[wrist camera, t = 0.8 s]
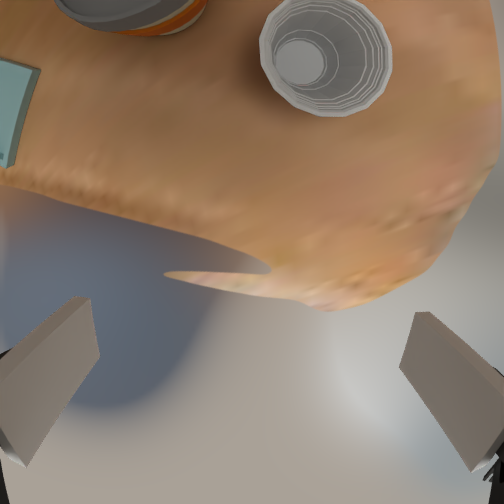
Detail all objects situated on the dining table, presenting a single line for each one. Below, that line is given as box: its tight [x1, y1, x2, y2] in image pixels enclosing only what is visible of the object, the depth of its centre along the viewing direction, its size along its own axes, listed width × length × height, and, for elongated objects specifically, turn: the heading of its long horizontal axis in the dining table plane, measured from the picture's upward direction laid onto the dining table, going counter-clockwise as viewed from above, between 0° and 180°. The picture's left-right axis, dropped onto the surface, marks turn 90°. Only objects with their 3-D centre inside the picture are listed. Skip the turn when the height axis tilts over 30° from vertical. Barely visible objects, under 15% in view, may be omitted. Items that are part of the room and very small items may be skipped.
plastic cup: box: [259, 0, 392, 117], centre depth 23 cm, size 11×11×12 cm
